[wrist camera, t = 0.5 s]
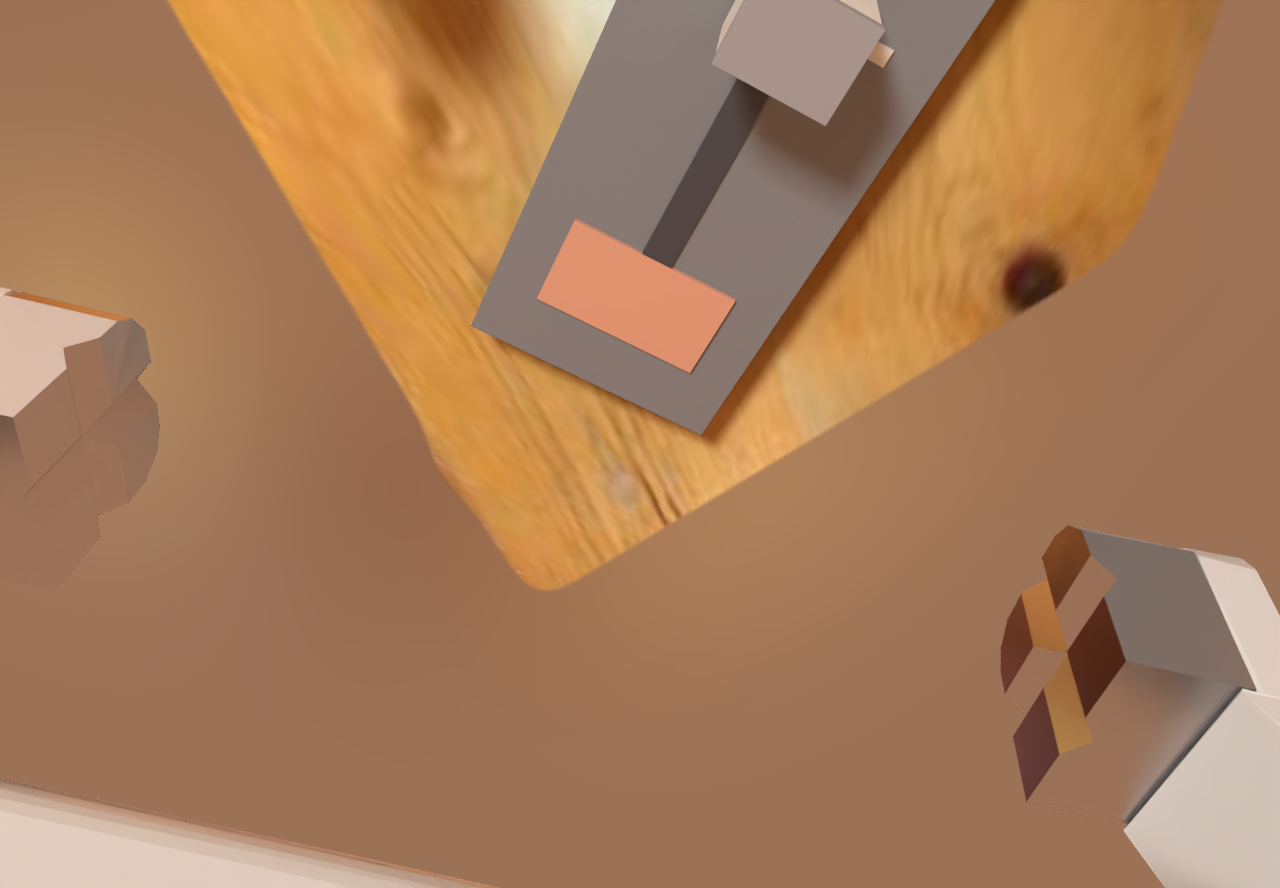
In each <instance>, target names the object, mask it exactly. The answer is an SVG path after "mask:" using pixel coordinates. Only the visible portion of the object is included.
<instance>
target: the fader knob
mask: <svg viewBox="0 0 1280 888" xmlns="http://www.w3.org/2000/svg"><path fill="white" fill-rule="evenodd" d="M884 31H885V27H884V25H882V22H881V18H880V13H879V8H878V4H877V0H735V2H734V4H733V6H732V7H731V9H730V11H729V13H728V15H727V17H726V19H725V21H724V23H723V25H722V29H721V33H720V37H719V41H718V45H717V50H716V54H715V56H714V57H713V59H712V64H713V65H714V66H716V67H718V68H720V69H722V70H724V71H725V72H727V73H729V74H731V75H733V76H735V77H736V78H738V79H740V80H742V81H744V82H746V83H747V84H749V85H751V86H753V87H755V88H757V89H758V90H760V91H762V92H764V93H766V94H767V95H769V96H771V97H773V98H775V99H777V100H778V101H780V102H782V103H784V104H786V105H788V106H789V107H791V108H793V109H795V110H797V111H799V112H800V113H802V114H804V115H806V116H808V117H810V118H811V119H813V120H815V121H817V122H819V123H821V124H822V125H824V126H826V125H827V123H828V121H829V120H830V118H831V117H832V115H833V113H834V112H835V110H836V109H837V107H838V105H839V104H840V102H841V101H842V99H843V97H844V96H845V94H846V92H847V91H848V89H849V88H850V86H851V84H852V83H853V81H854V80H855V78H856V76H857V75H858V73H859V72H860V70H861V68H862V67H863V65H864V63H865V62H866V60H867V59H868V57H869V55H870V54H871V52H872V51H873V49H874V47H875V46H876V44H877V43H878V41H879V39H880V38H881V36H882V34H883V33H884Z"/></svg>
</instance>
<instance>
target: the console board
mask: <svg viewBox="0 0 1280 888" xmlns="http://www.w3.org/2000/svg"><path fill="white" fill-rule="evenodd" d="M994 1H995V0H877V4H878V8H879V13H880V18H881V22H882V25H884V27H885V31H884V33H883V34H882V36H881V38H880V39H879V41H878V43H877V44H876V46H875V47H874V49H873V51H872V52H871V54H870V55H869V57H868V59H867V60H866V62H865V63H864V65H863V67H862V68H861V70H860V72H859V73H858V75H857V76H856V78H855V80H854V81H853V83H852V84H851V86H850V88H849V89H848V91H847V92H846V94H845V96H844V97H843V99H842V101H841V102H840V104H839V105H838V107H837V109H836V110H835V112H834V113H833V115H832V117H831V118H830V120H829V121H828V123H827V125H826V126H824V125H822V124H821V123H819V122H817V121H815V120H813V119H811V118H810V117H808V116H806V115H804V114H802V113H800V112H799V111H797V110H795V109H793V108H791V107H789V106H788V105H786V104H784V103H782V102H780V101H778V100H777V99H775V98H773V97H771V96H769V95H767V94H766V93H764V92H762V91H760V90H758V89H757V88H755V87H753V86H751V85H749V84H747V83H746V82H744V81H742V80H740V79H738V78H736V77H735V76H733V75H731V74H729V73H727V72H725V71H724V70H722V69H720V68H718V67H716V66H714V65H713V64H712V59H713V57H714V56H715V54H716V50H717V45H718V41H719V37H720V33H721V29H722V25H723V23H724V21H725V19H726V17H727V15H728V13H729V11H730V9H731V7H732V6H733V4H734V2H735V0H616V2H615V4H614V6H613V9H612V11H611V13H610V15H609V18H608V20H607V22H606V24H605V26H604V29H603V31H602V33H601V35H600V38H599V40H598V42H597V44H596V47H595V49H594V51H593V53H592V56H591V58H590V60H589V62H588V65H587V67H586V69H585V71H584V74H583V76H582V78H581V80H580V83H579V85H578V87H577V89H576V92H575V94H574V96H573V98H572V101H571V103H570V105H569V107H568V110H567V112H566V114H565V116H564V118H563V121H562V123H561V125H560V127H559V130H558V132H557V134H556V136H555V139H554V141H553V143H552V145H551V148H550V150H549V152H548V154H547V157H546V159H545V161H544V163H543V166H542V168H541V170H540V172H539V175H538V177H537V179H536V181H535V184H534V186H533V188H532V190H531V193H530V195H529V197H528V199H527V202H526V204H525V206H524V208H523V211H522V213H521V215H520V217H519V219H518V222H517V224H516V226H515V228H514V231H513V233H512V235H511V237H510V240H509V242H508V244H507V246H506V249H505V251H504V253H503V255H502V258H501V260H500V262H499V264H498V267H497V269H496V271H495V273H494V276H493V278H492V280H491V282H490V285H489V287H488V289H487V291H486V294H485V296H484V298H483V300H482V303H481V305H480V307H479V309H478V311H477V314H476V316H475V318H474V320H473V323H472V325H471V326H472V327H474V328H476V329H478V330H480V331H483V332H485V333H487V334H489V335H491V336H493V337H495V338H497V339H499V340H501V341H504V342H506V343H508V344H510V345H512V346H514V347H516V348H518V349H520V350H523V351H525V352H527V353H529V354H531V355H533V356H535V357H537V358H539V359H541V360H544V361H546V362H548V363H550V364H552V365H554V366H556V367H558V368H560V369H563V370H565V371H567V372H569V373H571V374H573V375H575V376H577V377H579V378H581V379H584V380H586V381H588V382H590V383H592V384H594V385H596V386H598V387H600V388H602V389H605V390H607V391H609V392H611V393H613V394H615V395H617V396H619V397H621V398H624V399H626V400H628V401H630V402H632V403H634V404H636V405H638V406H640V407H642V408H645V409H647V410H649V411H651V412H653V413H655V414H657V415H659V416H661V417H664V418H666V419H668V420H670V421H672V422H674V423H676V424H678V425H680V426H682V427H685V428H687V429H689V430H691V431H693V432H695V433H697V434H699V435H701V434H702V433H703V432H704V430H705V429H706V427H707V426H708V424H709V423H710V421H711V420H712V418H713V417H714V415H715V414H716V412H717V411H718V409H719V408H720V406H721V405H722V403H723V402H724V400H725V399H726V397H727V396H728V395H729V393H730V392H731V390H732V389H733V387H734V386H735V384H736V383H737V381H738V380H739V378H740V377H741V375H742V374H743V372H744V371H745V369H746V368H747V366H748V365H749V363H750V362H751V361H752V359H753V358H754V356H755V355H756V353H757V352H758V350H759V349H760V347H761V346H762V344H763V343H764V341H765V340H766V338H767V337H768V335H769V334H770V332H771V331H772V329H773V328H774V327H775V325H776V324H777V322H778V321H779V319H780V318H781V316H782V315H783V313H784V312H785V310H786V309H787V307H788V306H789V304H790V303H791V301H792V300H793V298H794V297H795V295H796V294H797V293H798V291H799V290H800V288H801V287H802V285H803V284H804V282H805V281H806V279H807V278H808V276H809V275H810V273H811V272H812V270H813V269H814V267H815V266H816V264H817V263H818V261H819V260H820V258H821V257H822V256H823V254H824V253H825V251H826V250H827V248H828V247H829V245H830V244H831V242H832V241H833V239H834V238H835V236H836V235H837V233H838V232H839V230H840V229H841V227H842V226H843V224H844V223H845V222H846V220H847V219H848V217H849V216H850V214H851V213H852V211H853V210H854V208H855V207H856V205H857V204H858V202H859V201H860V199H861V198H862V196H863V195H864V193H865V192H866V190H867V189H868V188H869V186H870V185H871V183H872V182H873V180H874V179H875V177H876V176H877V174H878V173H879V171H880V170H881V168H882V167H883V165H884V164H885V162H886V161H887V159H888V158H889V156H890V155H891V154H892V152H893V151H894V149H895V148H896V146H897V145H898V143H899V142H900V140H901V139H902V137H903V136H904V134H905V133H906V131H907V130H908V128H909V127H910V125H911V124H912V122H913V121H914V120H915V118H916V117H917V115H918V114H919V112H920V111H921V109H922V108H923V106H924V105H925V103H926V102H927V100H928V99H929V97H930V96H931V94H932V93H933V91H934V90H935V88H936V87H937V85H938V84H939V83H940V81H941V80H942V78H943V77H944V75H945V74H946V72H947V71H948V69H949V68H950V66H951V65H952V63H953V62H954V60H955V59H956V57H957V56H958V54H959V53H960V51H961V50H962V49H963V47H964V46H965V44H966V43H967V41H968V40H969V38H970V37H971V35H972V34H973V32H974V31H975V29H976V28H977V26H978V25H979V23H980V22H981V20H982V19H983V17H984V16H985V15H986V13H987V12H988V10H989V9H990V7H991V6H992V4H993V3H994Z"/></svg>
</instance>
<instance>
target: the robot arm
mask: <svg viewBox="0 0 1280 888" xmlns="http://www.w3.org/2000/svg"><path fill="white" fill-rule="evenodd" d="M150 363H151V359H150V354H149V349H148V343H147V338H146V333H145V330H144V329H143V328H142V327H141V326H140V325H139V324H138V323H136V322H135V321H134V320H133V319H132V318H127V317H123V316H119V315H115V314H111V313H107V312H103V311H99V310H95V309H90V308H86V307H82V306H78V305H73V304H70V303H65V302H61V301H57V300H53V299H49V298H45V297H41V296H36V295H33V294H28V293H24V292H20V293H18V292H16V291H13V290H10V289H6V288H1V287H0V579H2V580H7V581H12V582H17V583H23V584H28V585H33V586H38V587H44V588H49V589H54V590H57V588H58V587H59V586H60V585H61V584H62V583H63V581H64V580H65V579H66V578H67V577H68V575H69V574H70V573H71V572H72V571H73V569H74V568H75V567H76V566H77V565H78V563H79V562H80V561H81V560H82V558H83V557H84V556H85V555H86V554H87V553H88V551H89V550H90V549H91V548H92V547H93V545H94V544H95V543H96V542H97V541H98V539H99V538H100V537H101V535H100V530H99V524H98V518H97V516H98V515H100V514H103V513H105V512H108V511H110V510H112V509H115V508H117V507H120V506H122V505H124V504H126V503H129V501H130V500H131V499H132V498H133V496H134V495H135V494H136V492H137V491H138V490H139V488H140V487H141V486H142V484H144V482H145V481H146V478H147V476H148V474H149V471H150V468H151V466H152V463H153V461H154V458H155V456H156V453H157V449H158V438H159V428H160V424H159V416H158V408H157V403H156V402H155V401H154V399H152V397H151V396H150V395H149V393H148V392H147V391H146V390H145V388H144V387H143V386H142V385H141V384H140V382H139V381H138V380H137V378H138V377H139V376H140V375H141V373H142V372H143V371H144V370H145V369H146V367H147V366H148V365H149V364H150ZM1042 560H1043V564H1044V568H1045V571H1046V575H1047V579H1048V580H1046V581H1044V582H1042V583H1040V584H1038V585H1036V586H1034V587H1032V588H1030V589H1028V590H1026V591H1024V592H1022V593H1021V594H1020V596H1019V598H1018V600H1017V602H1016V604H1015V606H1014V608H1013V610H1012V612H1011V614H1010V616H1009V617H1008V619H1007V623H1006V628H1005V632H1004V636H1003V640H1002V645H1001V669H1000V670H1001V677H1002V682H1003V688H1004V694H1005V695H1006V697H1007V698H1008V699H1009V700H1010V701H1011V702H1012V703H1013V705H1014V706H1015V707H1016V708H1017V709H1018V710H1019V711H1020V713H1021V714H1022V715H1023V716H1024V717H1025V718H1024V719H1023V721H1022V722H1021V724H1020V726H1019V727H1018V729H1017V730H1016V732H1015V734H1014V735H1013V739H1014V744H1015V749H1016V753H1017V759H1018V764H1019V769H1020V773H1021V778H1022V783H1023V788H1024V793H1025V798H1026V802H1029V803H1032V804H1037V805H1041V806H1045V807H1049V808H1053V809H1057V810H1061V811H1065V812H1069V813H1073V814H1077V815H1081V816H1085V817H1090V818H1093V819H1097V820H1102V821H1106V822H1110V823H1114V824H1118V825H1122V826H1126V828H1125V829H1124V832H1125V833H1126V835H1127V836H1128V838H1129V839H1130V840H1131V842H1132V843H1133V844H1134V846H1135V847H1136V848H1137V850H1138V851H1139V853H1140V854H1141V855H1142V857H1143V858H1144V859H1145V861H1146V862H1147V864H1148V865H1149V866H1150V868H1151V869H1152V870H1153V872H1154V873H1155V875H1156V876H1157V877H1158V878H1159V880H1160V881H1161V883H1162V884H1163V885H1164V887H1165V888H1280V616H1279V614H1278V612H1277V610H1276V608H1275V606H1274V604H1273V602H1272V600H1271V598H1270V597H1269V594H1268V593H1267V590H1266V589H1265V587H1264V585H1263V583H1262V581H1261V579H1260V577H1259V575H1258V573H1257V571H1256V570H1255V569H1254V568H1253V567H1252V566H1250V565H1249V564H1248V563H1247V562H1245V561H1244V560H1243V559H1240V558H1235V557H1229V556H1224V555H1219V554H1214V553H1208V552H1203V551H1198V550H1193V549H1187V548H1182V549H1178V548H1173V547H1168V546H1164V545H1159V544H1155V543H1150V542H1145V541H1140V540H1136V539H1131V538H1126V537H1122V536H1117V535H1112V534H1108V533H1103V532H1098V531H1094V530H1089V529H1084V528H1080V527H1075V526H1070V525H1067V526H1066V527H1065V528H1064V529H1062V530H1061V531H1060V532H1059V533H1058V534H1057V535H1056V536H1054V538H1053V540H1052V541H1051V543H1050V545H1049V546H1048V548H1047V550H1046V552H1045V553H1044V555H1043V556H1042ZM0 888H500V887H495V886H490V885H486V884H481V883H477V882H472V881H467V880H463V879H459V878H454V877H449V876H445V875H440V874H436V873H431V872H427V871H422V870H417V869H412V868H408V867H404V866H399V865H395V864H390V863H386V862H381V861H376V860H372V859H367V858H363V857H358V856H353V855H349V854H344V853H340V852H335V851H330V850H326V849H322V848H317V847H312V846H308V845H303V844H299V843H294V842H290V841H285V840H280V839H276V838H271V837H267V836H262V835H258V834H253V833H248V832H244V831H239V830H235V829H230V828H225V827H221V826H216V825H212V824H207V823H203V822H198V821H194V820H189V819H184V818H180V817H175V816H171V815H166V814H161V813H156V812H152V811H148V810H143V809H138V808H134V807H130V806H125V805H120V804H116V803H111V802H107V801H101V800H97V799H93V798H88V797H84V796H79V795H74V794H70V793H65V792H61V791H56V790H51V789H47V788H42V787H37V786H33V785H29V784H24V783H19V782H15V781H10V780H6V779H1V778H0Z"/></svg>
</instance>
